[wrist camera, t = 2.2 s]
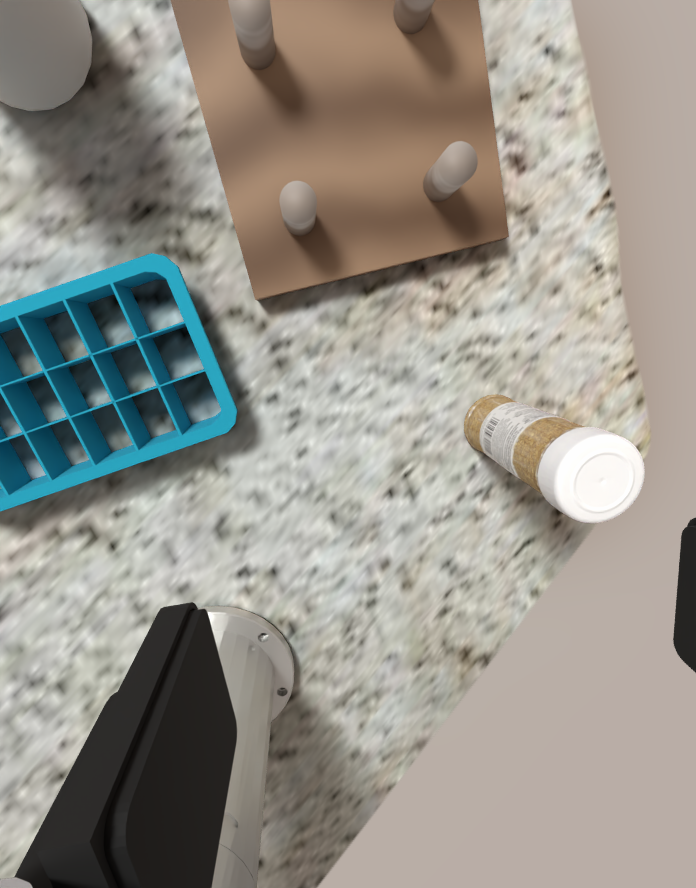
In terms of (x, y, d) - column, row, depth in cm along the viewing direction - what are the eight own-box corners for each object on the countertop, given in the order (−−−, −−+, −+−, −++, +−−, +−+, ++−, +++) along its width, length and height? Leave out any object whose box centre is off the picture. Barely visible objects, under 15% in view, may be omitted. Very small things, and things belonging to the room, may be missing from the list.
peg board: (499, 240, 31) (539, 223, 26) (257, 300, 30) (247, 295, 25) (457, -68, 26) (495, -167, 21) (172, -2, 26) (138, -85, 21)
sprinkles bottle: (502, 459, 35) (617, 539, 22) (451, 438, 34) (539, 508, 21) (530, 405, 34) (667, 455, 21) (478, 383, 33) (587, 420, 20)
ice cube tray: (249, 417, 33) (243, 426, 30) (-13, 508, 33) (-44, 526, 30) (182, 254, 30) (169, 247, 27) (-107, 355, 30) (-151, 358, 27)
